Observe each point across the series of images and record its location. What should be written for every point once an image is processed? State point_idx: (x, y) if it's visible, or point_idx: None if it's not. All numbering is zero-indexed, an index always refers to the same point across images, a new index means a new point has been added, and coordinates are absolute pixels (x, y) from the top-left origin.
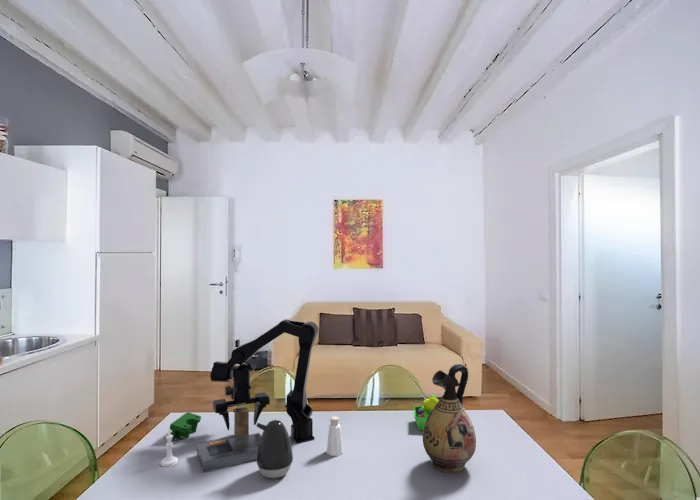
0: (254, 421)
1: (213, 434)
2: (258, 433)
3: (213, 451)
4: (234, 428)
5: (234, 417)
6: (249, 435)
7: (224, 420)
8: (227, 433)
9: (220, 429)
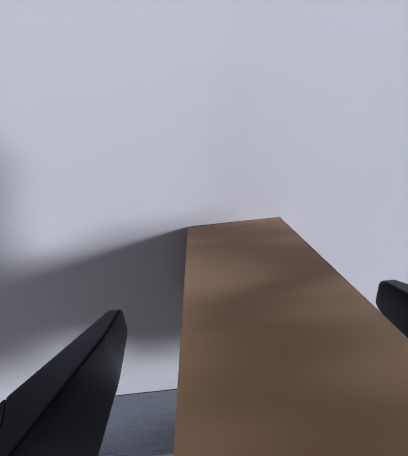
0: (404, 330)
1: (5, 155)
2: None
3: None
4: (186, 253)
5: (181, 341)
6: None
7: (19, 393)
8: (133, 182)
9: (57, 43)
